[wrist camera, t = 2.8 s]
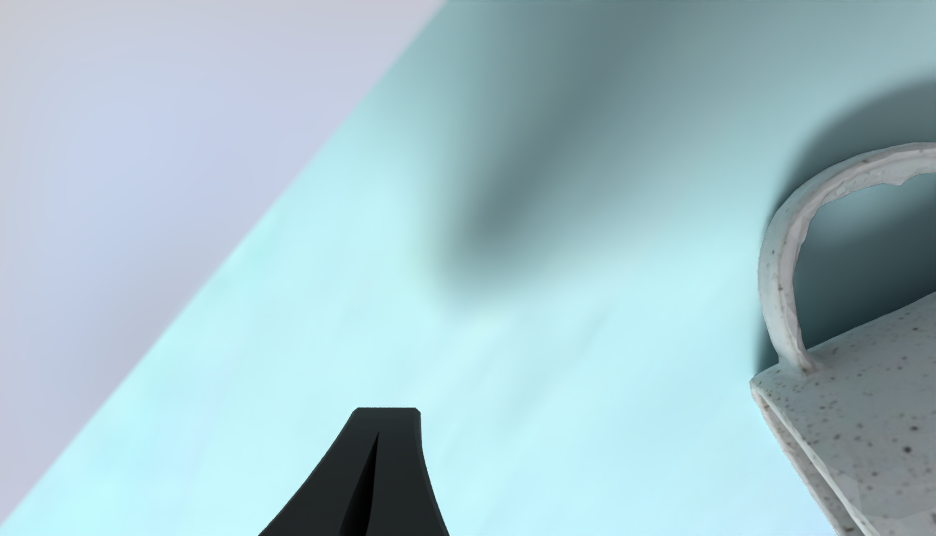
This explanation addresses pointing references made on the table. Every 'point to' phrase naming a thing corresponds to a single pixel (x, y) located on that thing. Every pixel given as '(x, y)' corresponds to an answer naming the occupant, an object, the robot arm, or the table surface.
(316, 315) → the table surface
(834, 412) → the ceramic mug
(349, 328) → the table surface
